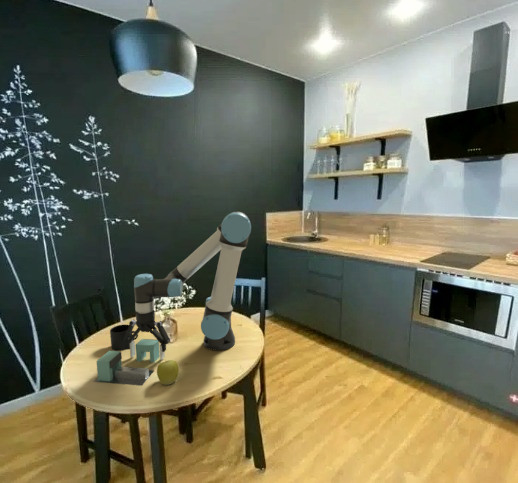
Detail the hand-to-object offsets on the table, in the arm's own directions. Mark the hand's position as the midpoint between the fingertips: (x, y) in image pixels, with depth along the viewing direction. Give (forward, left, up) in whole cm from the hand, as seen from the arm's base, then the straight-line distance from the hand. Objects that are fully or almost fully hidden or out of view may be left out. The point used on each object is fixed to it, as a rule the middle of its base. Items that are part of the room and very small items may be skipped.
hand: (147, 357), depth 135 cm
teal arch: (0, 0, -1) cm, 1 cm away
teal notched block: (+9, +13, -1) cm, 16 cm away
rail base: (+3, +13, -1) cm, 14 cm away
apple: (-16, +14, -1) cm, 21 cm away
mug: (+17, -11, -1) cm, 20 cm away
